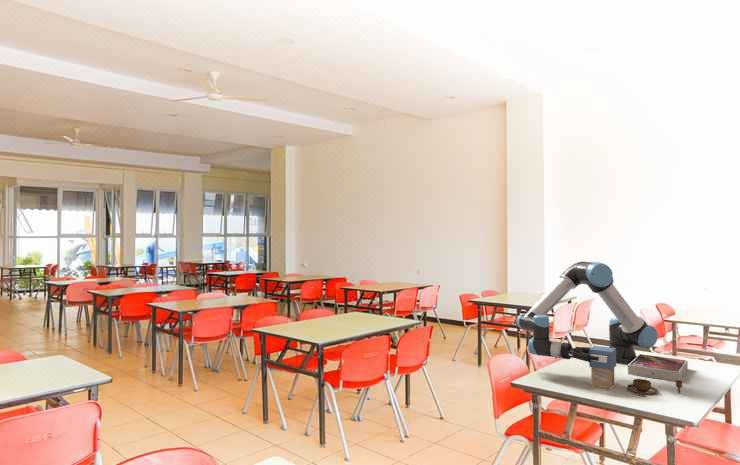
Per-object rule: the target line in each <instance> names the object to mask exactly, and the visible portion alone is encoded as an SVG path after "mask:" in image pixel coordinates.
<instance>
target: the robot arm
mask: <svg viewBox="0 0 740 465" xmlns="http://www.w3.org/2000/svg"><path fill="white" fill-rule="evenodd" d="M613 275H614V273H613V270H612V269H611V267H610V266H608V265H607V264H605V263H602V262H599V261H595V262H593V261H592V262H591V261H578V262H576V263H574V264H572V265H570V266H569V267H568V268H567V269H566V270H564V271H563V272H562V273H561V275H559V279H558V280H557V281H556V282H555V283H554V284H553V285H552V286H551V288H550V289H548V290H547V292H545V293H544V295H543V296H541V298H540V299H539V300H538V301H537V302H535V304H534V305H533V306H532V307H531V308H529V310H528V311H527V312H526V313H524V314H519V315H518V316H517V317H516V321H515V322H516V325H517V327H518V328H519V329H521V330H523V331H527V332H530V333H532V336H533V337H532V338H530V339H529V340H528V345H527V349H528V353H529V354H531V355H534V356H541V357H543V356H544V357H550V358H554V359H563V360H571V359H576V360H580V361H583V362H588V363H589V362H591V361H597V362H604V363H607V356H600V355H592V354H591V355H589V349H590V348H592V347H593V346H591V347H590V346H589V347H587V346H586V347H583V346H575V347H573V346H572V344H571V343H569V342H562V341H553V340H550V325H551V324H550V318H549V316H548V315H547V314H549V313H550V311H552V309H553V308H555V307H556V306H557V304H559V303H560V301H561V300H562V299H564V297H565V296H566V295H567V294H568V293H570V291H571V290H574V289H575V290H576V288H577V287H578V286H579V285H587V287H588V288H589V289H590V290H591V291H592V292H593V293H594V294H598V296H599V297H600V298H601V300H603V302H604V303H605V305H606V306H607V307H608V309H609V310H610V311H611V313H612V314H613V316H614V317H613V318H609V323H608V333H609V334H608V335H609V336H608V337H609V340H608V341H609V345H608V346H609V347H611V348H616V364H625V365H626V364H627V365H628V364H630V363H631V362H632V361H633V360H634V359H635V358H636V357H637V356H638V355H637V354H636V351H635V348H634V346H636V347H639V348H642V349H643V348H644V349H650V348H652V347H654V346H655V345H656V344H657V342H658V337H659V334H658V330H657V328H655V327H654V326H652V325H649V324H648V323H647V322H646V321H645V320H644V318H643V317H641V316H638V315H637V313H636V312H635V311H634V310H633V309H632V307H631V306H630V305H629V303H628V302H627V301H626V300H625V298H624V297H623V296H622V294H621V293H620V292H619V290H618V289H617V288H616V287H615V285H614V282H615V281H614V276H613Z"/></svg>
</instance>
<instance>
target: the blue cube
mask: <svg viewBox="0 0 740 465" xmlns="http://www.w3.org/2000/svg"><path fill="white" fill-rule="evenodd" d="M591 347H592V348H590V349H589V355H591V354H592V355H600V356H607V363H604V362H597V361H591V362H588V364H589V365H588V366H589V368H591V367H593V368H600V369H607V370H613V368H614V369H615V367H616V366H617V363H616V348H611V347H608V346H601V345H593V346H591Z"/></svg>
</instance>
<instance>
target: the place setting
mask: <svg viewBox="0 0 740 465" xmlns="http://www.w3.org/2000/svg"><path fill="white" fill-rule="evenodd" d="M675 386H676V388H677V394H680V395H681V388H682V387H683V381H682V380H676V382H675ZM633 388H634V389H633ZM626 389H627V390H628V391H629V392H630V393H632V394H633V395H634V396H638V397H643V398H645V397H647V396H653V395H656V394H658V392H659V390H658V389H657V388H656V387H654V386H652V382H651V381H650V380H648V379H643V378H634V379H633V380H632V383H631V384H627V385H626ZM650 390H651V392H648V391H650Z"/></svg>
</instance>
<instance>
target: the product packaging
mask: <svg viewBox="0 0 740 465" xmlns="http://www.w3.org/2000/svg"><path fill="white" fill-rule="evenodd" d="M636 356H637V357H636V358H635V359H634V360H633V361H632V362H631V363H630V364H627V375H630V374H632V375H631V376H638V377H642V378H643V377H645V378H651V379H658V380H664V381H671V382H675V383H676V380H680V381H682V379H683V377H684V375H685V374H686V373H687V371H688V365H689V364H688V363H689V361H688V359H680V358H674V357H664V356H658V355H648V354H642V353H640V354H638V355H636Z"/></svg>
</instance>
